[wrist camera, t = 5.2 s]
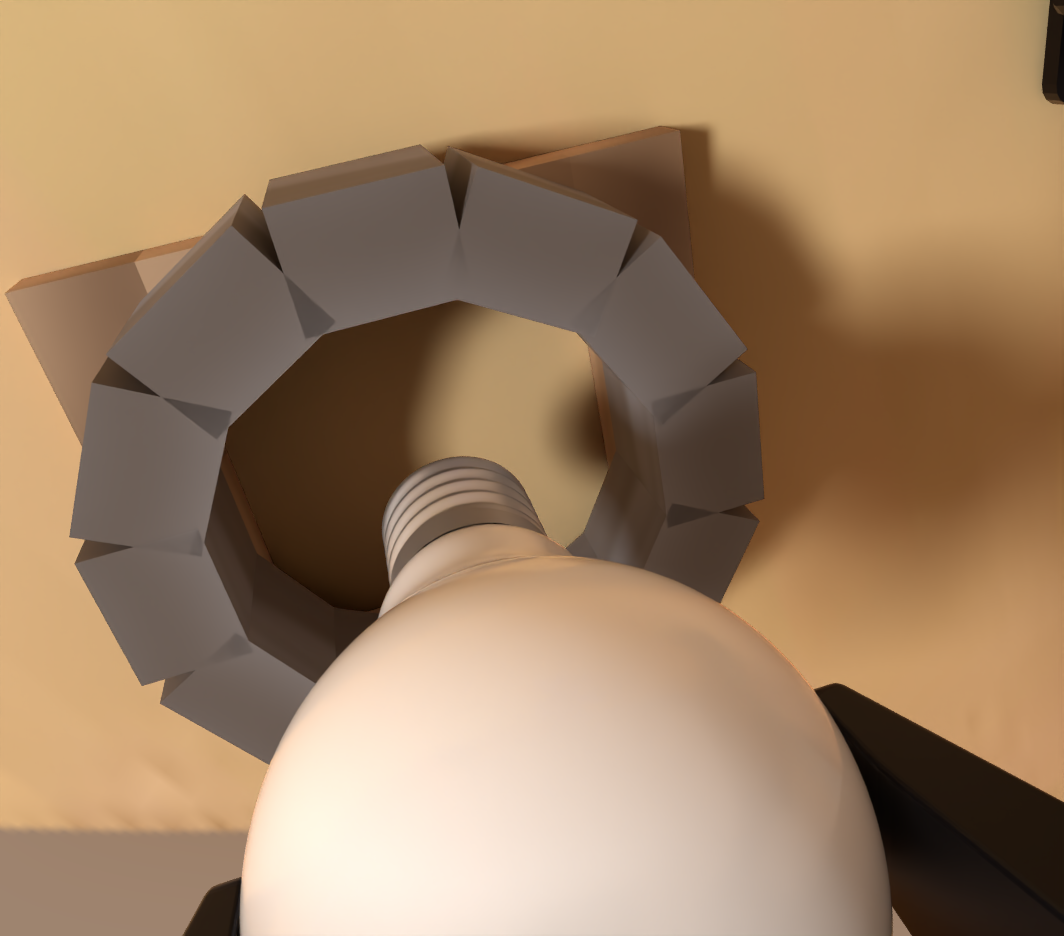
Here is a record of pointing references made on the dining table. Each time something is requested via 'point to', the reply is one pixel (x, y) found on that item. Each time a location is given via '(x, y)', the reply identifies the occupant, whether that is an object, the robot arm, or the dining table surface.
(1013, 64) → the dining table surface
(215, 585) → the grey stone fire pit
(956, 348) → the dining table surface
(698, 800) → the lightbulb
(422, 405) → the dining table surface
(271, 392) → the dining table surface
